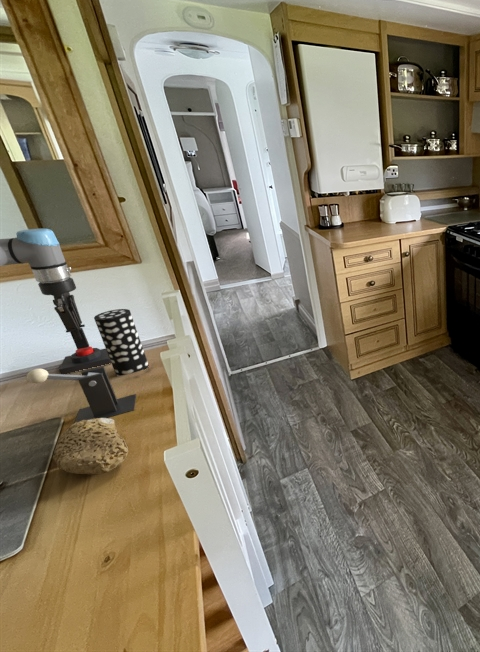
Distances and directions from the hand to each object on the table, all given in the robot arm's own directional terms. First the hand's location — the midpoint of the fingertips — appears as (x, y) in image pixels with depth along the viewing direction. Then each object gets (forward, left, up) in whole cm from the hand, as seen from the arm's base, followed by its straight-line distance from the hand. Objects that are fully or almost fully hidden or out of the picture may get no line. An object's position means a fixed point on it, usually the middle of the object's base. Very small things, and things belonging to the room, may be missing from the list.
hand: (83, 347), depth 124 cm
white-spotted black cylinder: (+12, -14, -6) cm, 19 cm away
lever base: (+8, -38, -6) cm, 39 cm away
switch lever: (+2, -38, +6) cm, 38 cm away
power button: (0, 0, -3) cm, 3 cm away
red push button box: (0, 0, -6) cm, 6 cm away
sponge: (+8, -58, -6) cm, 59 cm away
